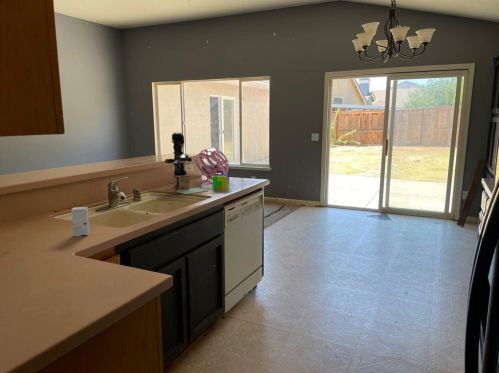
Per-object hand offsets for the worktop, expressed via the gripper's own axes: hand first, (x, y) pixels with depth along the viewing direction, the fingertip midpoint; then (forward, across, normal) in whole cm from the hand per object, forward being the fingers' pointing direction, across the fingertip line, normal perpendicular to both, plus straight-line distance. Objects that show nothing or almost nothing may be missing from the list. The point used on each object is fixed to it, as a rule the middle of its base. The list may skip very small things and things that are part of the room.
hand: (179, 172), depth 263 cm
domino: (+12, 0, -7) cm, 14 cm away
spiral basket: (+12, +34, +8) cm, 37 cm away
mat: (+12, +1, -16) cm, 20 cm away
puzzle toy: (+12, +21, -23) cm, 33 cm away
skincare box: (+12, -84, -72) cm, 111 cm away
